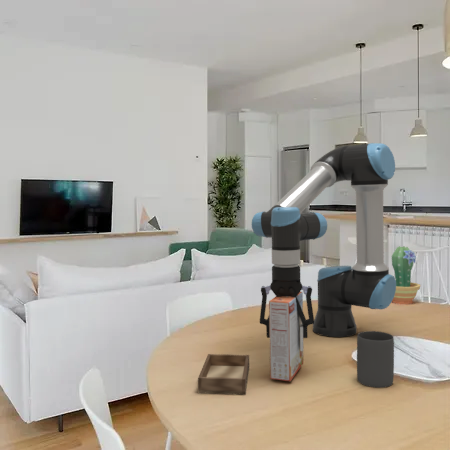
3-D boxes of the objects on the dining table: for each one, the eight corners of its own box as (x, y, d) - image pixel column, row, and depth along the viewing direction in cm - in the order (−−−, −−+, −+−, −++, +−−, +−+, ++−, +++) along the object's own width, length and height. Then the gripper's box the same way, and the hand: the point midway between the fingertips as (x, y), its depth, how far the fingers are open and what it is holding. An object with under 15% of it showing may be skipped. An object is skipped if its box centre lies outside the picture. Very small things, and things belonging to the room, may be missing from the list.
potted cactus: (387, 305, 217) (387, 248, 215) (381, 298, 232) (382, 244, 230) (424, 306, 214) (425, 248, 212) (416, 298, 229) (417, 244, 228)
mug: (395, 389, 123) (396, 341, 122) (357, 386, 125) (357, 339, 124) (389, 370, 136) (390, 327, 136) (355, 368, 138) (355, 325, 138)
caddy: (249, 368, 139) (249, 354, 139) (245, 394, 121) (245, 379, 120) (208, 367, 140) (208, 354, 140) (198, 393, 122) (198, 378, 122)
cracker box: (283, 361, 142) (283, 289, 140) (304, 364, 139) (304, 291, 138) (268, 379, 129) (267, 299, 127) (290, 382, 127) (290, 301, 125)
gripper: (322, 262, 135) (323, 345, 136) (249, 263, 137) (250, 344, 138) (325, 267, 127) (326, 354, 129) (247, 267, 129) (249, 353, 131)
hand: (286, 349), depth 134 cm, fingers closed on cracker box, 7 cm apart
